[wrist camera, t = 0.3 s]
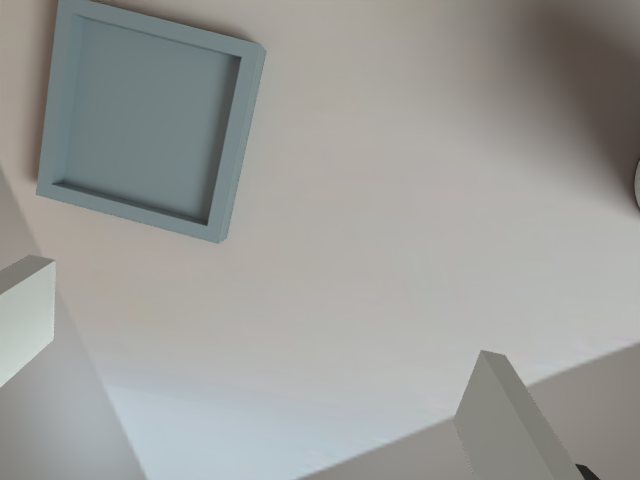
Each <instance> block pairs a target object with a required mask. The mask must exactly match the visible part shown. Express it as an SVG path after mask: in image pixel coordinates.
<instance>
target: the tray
mask: <svg viewBox="0 0 640 480" xmlns="http://www.w3.org/2000/svg"><path fill="white" fill-rule="evenodd" d="M265 55H266V50H265V49H264V48H263V47H262V46H261V45H260V44H257V43H253V42H249V41H245V40H241V39H238V38H234V37H230V36H226V35H222V34H218V33H214V32H210V31H206V30H203V29H199V28H195V27H191V26H187V25H183V24H179V23H175V22H171V21H168V20H164V19H160V18H156V17H152V16H148V15H144V14H140V13H136V12H133V11H129V10H125V9H121V8H117V7H113V6H109V5H105V4H102V3H98V2H94V1H90V0H58V6H57V15H56V24H55V32H54V41H53V50H52V58H51V67H50V76H49V84H48V93H47V102H46V110H45V119H44V128H43V137H42V145H41V154H40V163H39V171H38V180H37V189H36V195H39V196H43V197H47V198H50V199H54V200H58V201H61V202H65V203H69V204H73V205H76V206H80V207H84V208H87V209H91V210H95V211H99V212H102V213H106V214H110V215H114V216H117V217H121V218H125V219H128V220H132V221H136V222H140V223H143V224H147V225H151V226H154V227H158V228H162V229H166V230H169V231H173V232H177V233H180V234H184V235H188V236H192V237H195V238H199V239H203V240H206V241H210V242H214V243H218V244H219V243H220V242H221V241H223V240H224V239H226V238H227V233H228V228H229V224H230V219H231V214H232V210H233V205H234V200H235V195H236V191H237V186H238V181H239V177H240V172H241V167H242V163H243V158H244V153H245V149H246V144H247V139H248V135H249V130H250V125H251V121H252V116H253V111H254V107H255V102H256V97H257V93H258V88H259V83H260V79H261V74H262V69H263V65H264V60H265Z"/></svg>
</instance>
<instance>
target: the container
mask: <svg viewBox="0 0 640 480" xmlns="http://www.w3.org/2000/svg"><path fill="white" fill-rule="evenodd" d="M635 194H636V199H637V202H638V205H639V207H640V161H639V163H638V166H637V170H636V175H635Z"/></svg>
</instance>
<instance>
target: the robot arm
mask: <svg viewBox="0 0 640 480" xmlns="http://www.w3.org/2000/svg"><path fill="white" fill-rule="evenodd" d="M55 272H56V260H53V259H48V258H44V257H38V256H34V255H28V256H26V257H25V258H23V259H21V260H19V261H17V262H16V263H14V264H12V265H10V266H8V267H7V268H5V269H3V270H1V271H0V387H1V386H2V385H4V384H5V383H6V382H7V381H8V380H9V379H10V378H11V377H12V376H13V375H15V374H16V373H17V372H18V371H19V370H20V369H21V368H22V367H23V366H25V365H26V364H27V363H28V362H29V361H30V360H31V359H32V358H33V357H34V356H35V355H37V354H38V353H39V352H40V351H41V350H42V349H43V348H44V347H45V346H46V345H48V344H49V343H50V342H51V341H52V340H53V338H54V307H55ZM453 421H454V424H455V426H456V429H457V432H458V434H459V437H460V440H461V443H462V446H463V449H464V451H465V454H466V457H467V460H468V463H469V465H470V468H471V471H472V474H473V476H474V479H475V480H600V479H599V478H598V477H597V476H596V475H595V474H594V473H593V472H591V471H590V470H589V469H588V468H587V467H586V466H584V465H578V464H574V462H573V461H572V459H571V457H570V456H569V454H568V453H567V451H566V449H565V448H564V446H563V445H562V443H561V442H560V440H559V439H558V437H557V436H556V434H555V432H554V431H553V429H552V428H551V426H550V425H549V423H548V422H547V420H546V418H545V417H544V415H543V414H542V412H541V411H540V409H539V407H538V406H537V404H536V403H535V402H534V400H533V398H532V396H531V395H530V393H529V392H528V390H527V389H526V387H525V385H524V384H523V382H522V381H521V379H520V378H519V376H518V375H517V373H516V371H515V370H514V368H513V367H512V365H511V364H510V362H509V361H508V359H507V357H506V356H505V355H503V354H498V353H493V352H488V351H484V350H481V352H480V354H479V357H478V360H477V362H476V365H475V367H474V370H473V372H472V375H471V377H470V380H469V382H468V385H467V387H466V390H465V392H464V395H463V397H462V400H461V402H460V405H459V407H458V410H457V412H456V415H455V418H454V420H453Z"/></svg>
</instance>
